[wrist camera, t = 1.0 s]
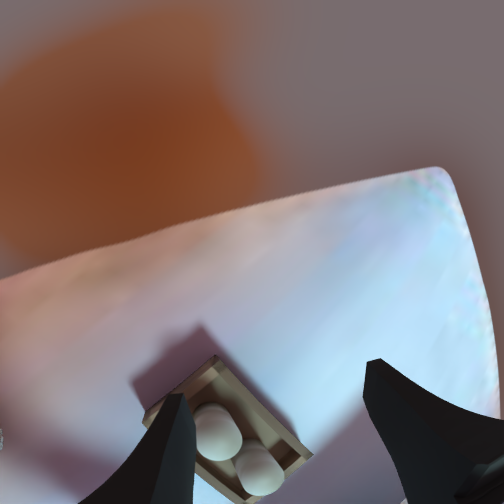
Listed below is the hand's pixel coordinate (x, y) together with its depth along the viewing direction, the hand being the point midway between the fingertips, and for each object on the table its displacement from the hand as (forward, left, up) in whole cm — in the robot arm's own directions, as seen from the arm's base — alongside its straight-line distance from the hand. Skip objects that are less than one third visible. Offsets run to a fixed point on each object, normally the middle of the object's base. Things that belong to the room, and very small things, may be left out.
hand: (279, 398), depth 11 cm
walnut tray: (-5, -6, -15) cm, 17 cm away
